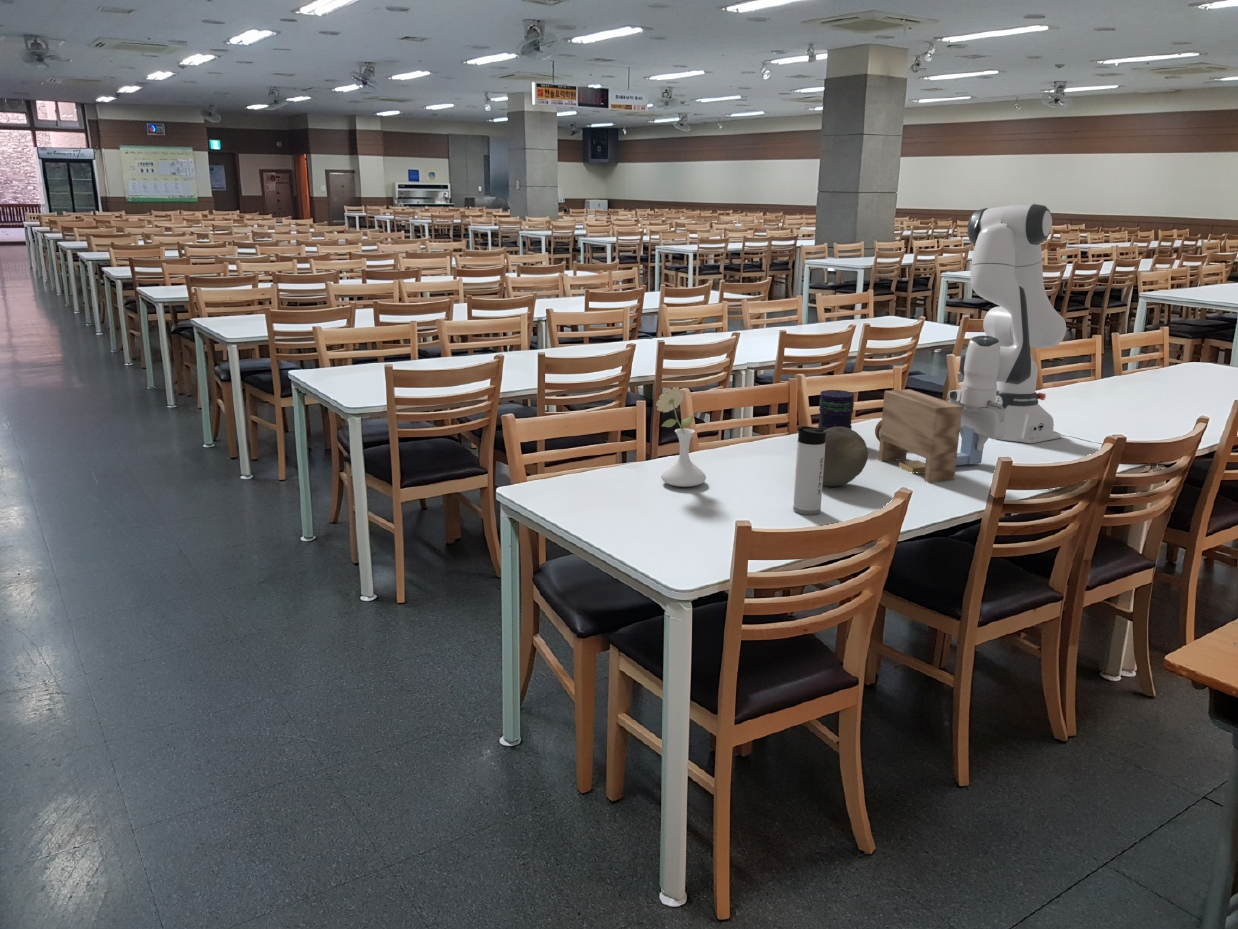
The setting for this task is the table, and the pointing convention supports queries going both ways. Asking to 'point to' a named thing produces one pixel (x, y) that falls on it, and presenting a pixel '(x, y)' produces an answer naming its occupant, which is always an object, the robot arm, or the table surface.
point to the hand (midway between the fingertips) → (971, 447)
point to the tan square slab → (913, 466)
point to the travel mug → (809, 470)
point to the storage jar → (835, 409)
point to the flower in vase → (683, 468)
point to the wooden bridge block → (921, 431)
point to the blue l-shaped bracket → (969, 448)
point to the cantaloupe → (843, 456)
